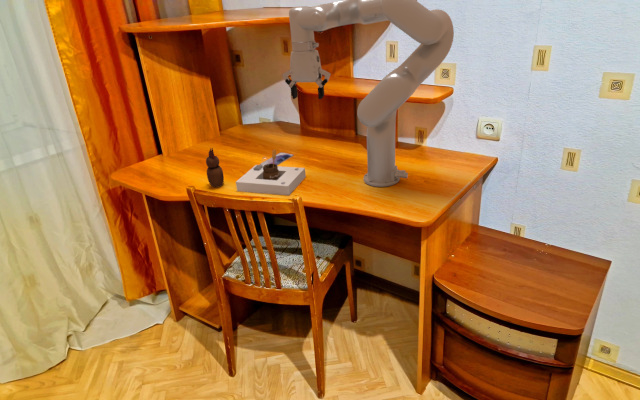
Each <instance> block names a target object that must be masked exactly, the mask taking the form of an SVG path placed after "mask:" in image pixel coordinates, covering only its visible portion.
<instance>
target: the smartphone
mask: <svg viewBox="0 0 640 400" xmlns="http://www.w3.org/2000/svg"><path fill="white" fill-rule="evenodd" d="M292 157H294V154H293V153H287V152H279V153H276V159H274V164H276V165H277V166H278V165H279V166H280V164H282V163H284V162H285V161H287V160H289V159H290V158H292ZM267 159H268V160H267ZM267 159H265V160H263V162H264V164H263V162H261V163H260V164H259V165H266V164H273V158H272V157H269V158H267ZM265 162H266V163H265Z"/></svg>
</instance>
